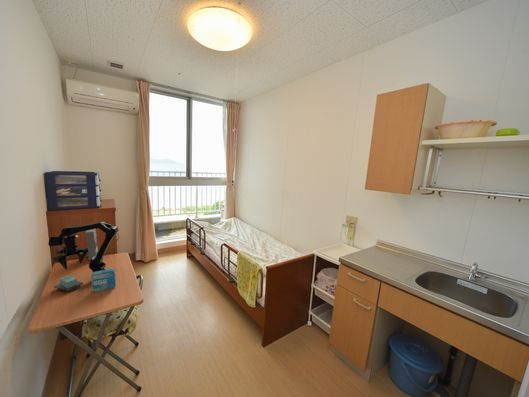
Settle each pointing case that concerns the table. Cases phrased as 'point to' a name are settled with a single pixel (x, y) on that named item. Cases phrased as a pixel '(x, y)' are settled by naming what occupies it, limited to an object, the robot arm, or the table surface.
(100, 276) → the data package
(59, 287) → the stand
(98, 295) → the table surface
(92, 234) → the cassette tape recorder
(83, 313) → the table surface
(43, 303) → the table surface
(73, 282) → the housing
